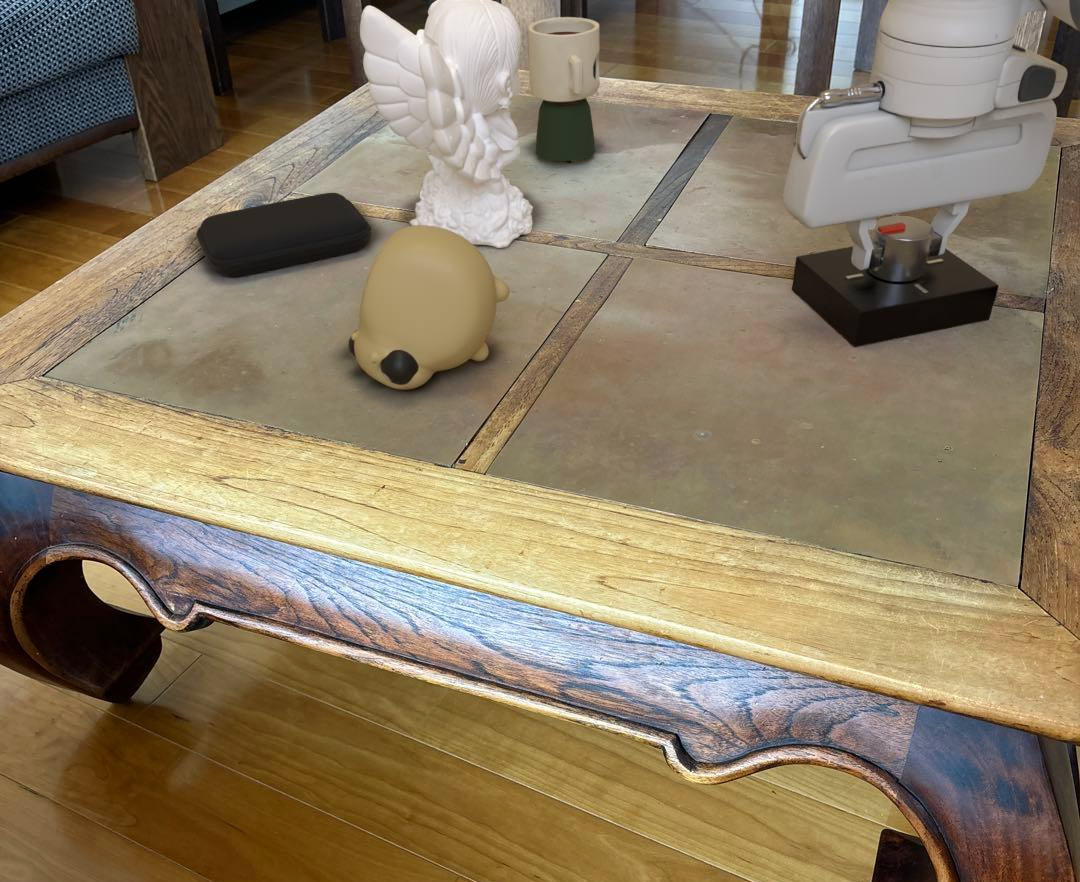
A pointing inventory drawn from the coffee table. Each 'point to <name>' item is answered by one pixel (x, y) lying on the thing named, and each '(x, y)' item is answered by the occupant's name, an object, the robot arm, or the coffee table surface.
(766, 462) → the coffee table surface
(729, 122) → the coffee table surface
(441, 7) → the cherub figurine
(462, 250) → the tan pug toy
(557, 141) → the character mug
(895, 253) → the dimmer knob
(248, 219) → the carrying case
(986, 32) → the robot arm
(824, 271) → the dimmer panel
